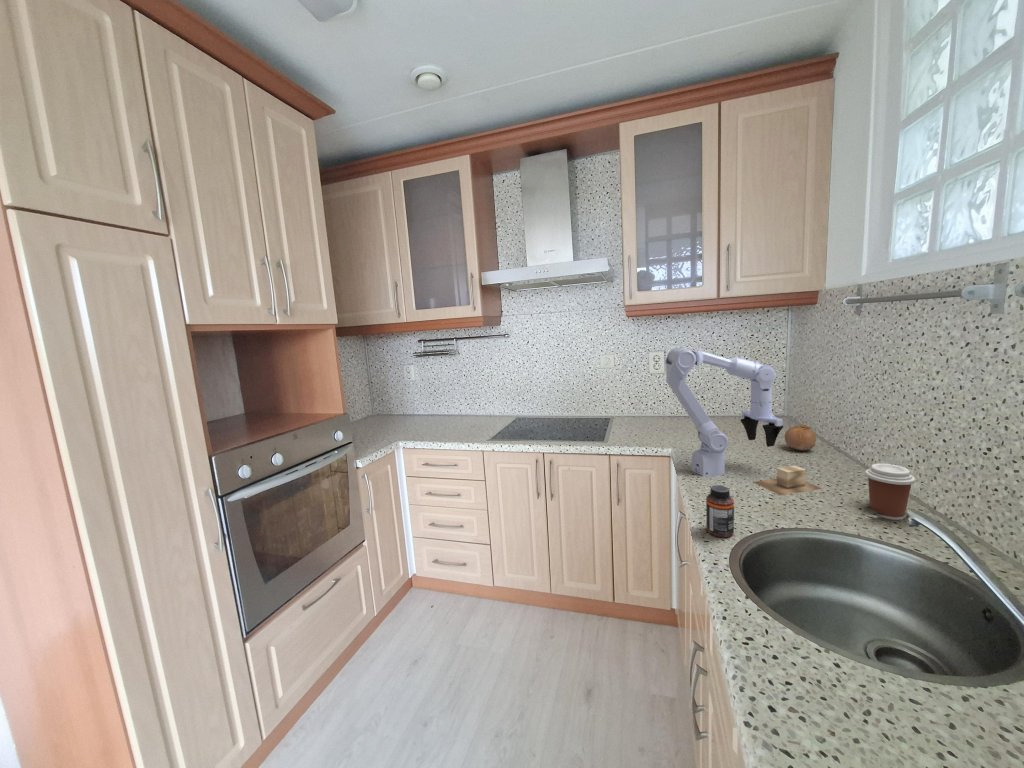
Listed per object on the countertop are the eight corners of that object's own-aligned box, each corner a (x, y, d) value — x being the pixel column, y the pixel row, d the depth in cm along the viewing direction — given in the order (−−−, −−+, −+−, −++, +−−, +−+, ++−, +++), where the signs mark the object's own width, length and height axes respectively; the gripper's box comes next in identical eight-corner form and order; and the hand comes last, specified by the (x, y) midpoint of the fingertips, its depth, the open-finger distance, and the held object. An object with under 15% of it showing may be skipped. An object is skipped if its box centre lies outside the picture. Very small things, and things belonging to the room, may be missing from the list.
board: (779, 499, 111) (780, 494, 110) (752, 485, 120) (752, 481, 120) (822, 492, 113) (822, 488, 113) (791, 479, 123) (792, 475, 122)
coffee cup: (863, 502, 106) (866, 459, 104) (912, 511, 99) (915, 466, 98) (861, 515, 99) (864, 469, 97) (913, 526, 93) (916, 477, 91)
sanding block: (787, 488, 114) (787, 472, 113) (776, 484, 117) (777, 468, 117) (804, 486, 115) (805, 469, 114) (794, 481, 118) (794, 465, 118)
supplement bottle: (709, 523, 100) (709, 481, 98) (736, 530, 96) (736, 486, 95) (703, 534, 95) (703, 489, 94) (731, 541, 92) (731, 495, 90)
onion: (813, 448, 149) (814, 422, 148) (817, 455, 141) (818, 428, 140) (783, 445, 154) (784, 420, 153) (785, 453, 146) (786, 426, 145)
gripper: (791, 404, 119) (790, 447, 121) (754, 396, 133) (754, 435, 135) (771, 406, 118) (770, 450, 120) (736, 399, 132) (736, 438, 134)
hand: (760, 442), depth 128 cm, fingers open, 7 cm apart
